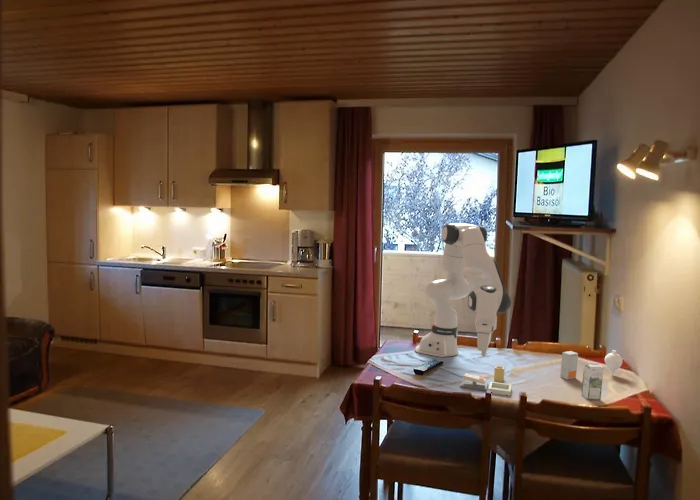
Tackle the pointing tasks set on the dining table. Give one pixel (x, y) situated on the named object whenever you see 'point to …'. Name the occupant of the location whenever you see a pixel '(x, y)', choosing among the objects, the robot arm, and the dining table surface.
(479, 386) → the switch base
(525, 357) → the dining table surface
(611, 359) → the spinning top
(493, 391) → the socket
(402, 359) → the dining table surface
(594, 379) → the syrup box
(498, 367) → the lockout cap
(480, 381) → the rocker
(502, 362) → the dining table surface
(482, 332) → the robot arm
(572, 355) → the skincare box
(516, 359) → the dining table surface
